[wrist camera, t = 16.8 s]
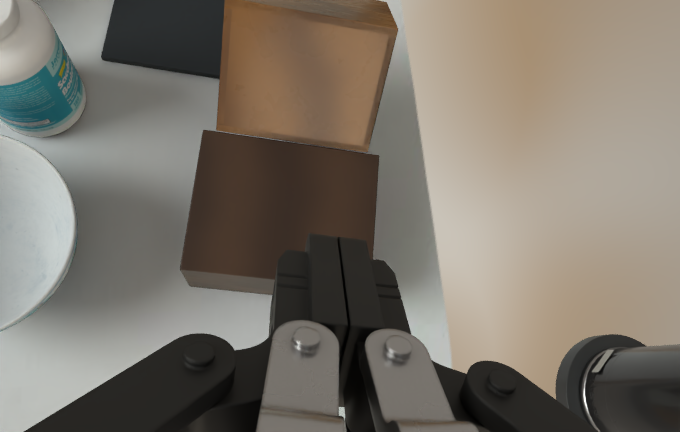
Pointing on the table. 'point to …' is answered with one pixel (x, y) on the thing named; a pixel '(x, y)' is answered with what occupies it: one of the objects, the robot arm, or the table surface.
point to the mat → (167, 35)
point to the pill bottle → (35, 73)
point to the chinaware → (32, 230)
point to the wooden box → (304, 69)
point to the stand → (270, 207)
